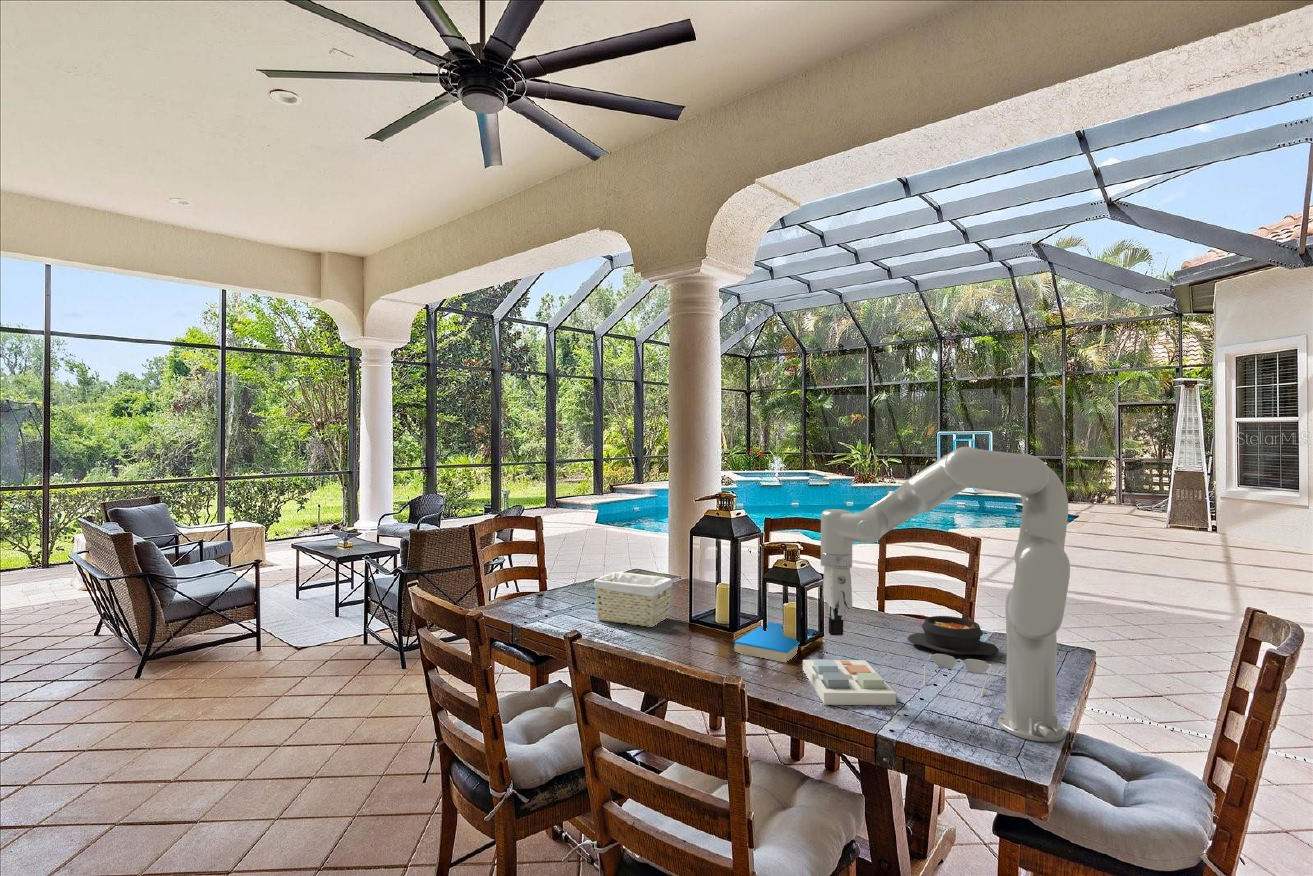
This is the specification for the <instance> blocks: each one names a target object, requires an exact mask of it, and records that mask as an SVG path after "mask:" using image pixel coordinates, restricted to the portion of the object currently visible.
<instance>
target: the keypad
mask: <svg viewBox="0 0 1313 876" xmlns="http://www.w3.org/2000/svg"><path fill="white" fill-rule="evenodd" d="M833 660H834V661H835V663H836V664H837V665H838V672H843V673H844V674H845V676H846V677H847V678H848V679H849V689H827V688H826V686H825V685H824V683H823V675H818V674H817V673H816V671H815V670H814V659H802V672H803V671H804V672H803V674H804V673H805V674H806V675H805V674H804V675H805V677H806V676H807V677H806V678H808V679H809V680H808V679H807V680H808V682H809V681H810V682H811V683H810V682H809V683H810V685H811V684H812V685H811V687H812V686H813V687H814V688H813V687H812V688H813V690H814V689H815V690H814V691H816V692H817V693H816V692H815V693H816V695H817V694H818V695H817V696H819V697H820V698H819V697H818V698H819V700H820V699H821V700H822V701H821V700H820V701H821V703H822V702H823V703H822V705H823V704H824V705H823V706H827V705H896V706H897V704H896V703H897V693H896V691H894V689H893V688H891V687H890V686H889V684H888V683H887V682H886V681H885V680H884V689H862V688H861V687H860V686H859V684H858V683H857V675H850V674H849V672H848V671H847V670H846V665H866V667H867V668H868V669H869V670H870V671H871V673H878V672H877V671H876V669H874V668H873V667H872V666H871V665H870V664H869V663H868V661H866V660H865V659H861V660H860V659H858V660H856V659H853V660H852V659H848V660H847V659H833Z"/></svg>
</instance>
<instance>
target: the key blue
mask: <svg viewBox="0 0 1313 876" xmlns="http://www.w3.org/2000/svg"><path fill="white" fill-rule="evenodd" d="M813 660H814V670H815V671H816V673H817V674H818V675H823V672H838V665H837V664H836V663H835V661H834V660H835V659H821V658H820V659H813Z"/></svg>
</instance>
